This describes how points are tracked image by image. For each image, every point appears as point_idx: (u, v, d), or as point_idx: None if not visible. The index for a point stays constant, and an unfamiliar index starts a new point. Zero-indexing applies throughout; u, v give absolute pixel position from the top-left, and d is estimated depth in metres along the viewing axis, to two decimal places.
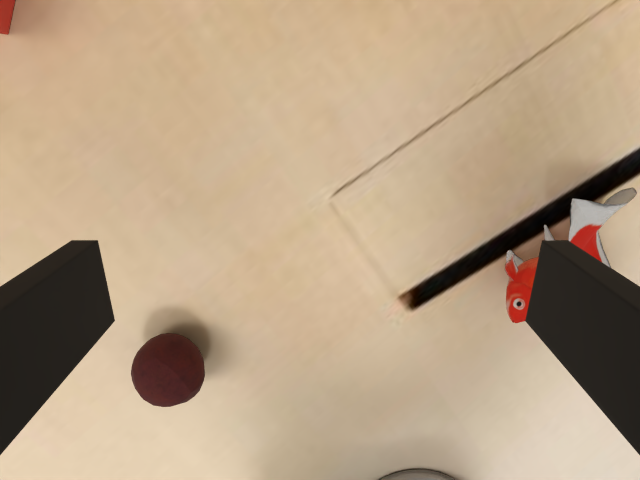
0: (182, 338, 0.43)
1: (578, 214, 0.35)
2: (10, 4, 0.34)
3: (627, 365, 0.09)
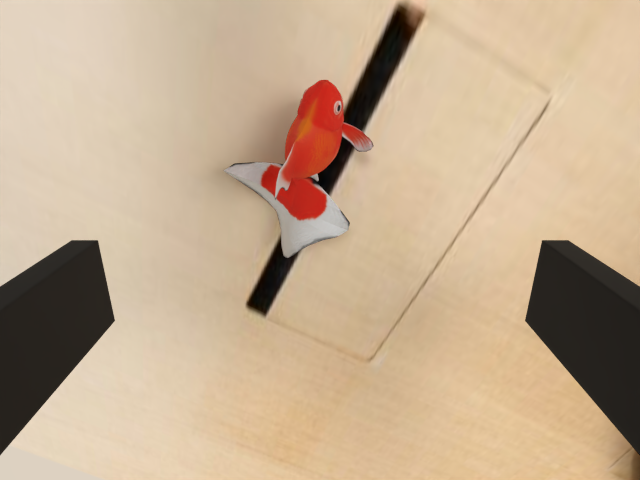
0: None
1: (337, 222, 0.34)
2: None
3: (627, 365, 0.09)
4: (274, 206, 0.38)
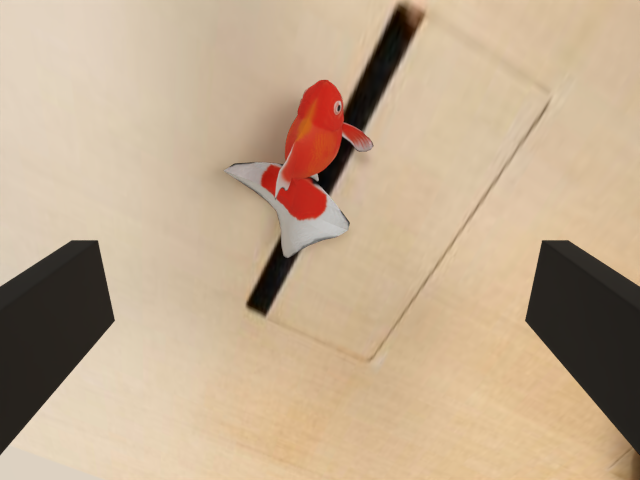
0: None
1: (337, 222, 0.34)
2: None
3: (627, 365, 0.09)
4: (274, 206, 0.38)
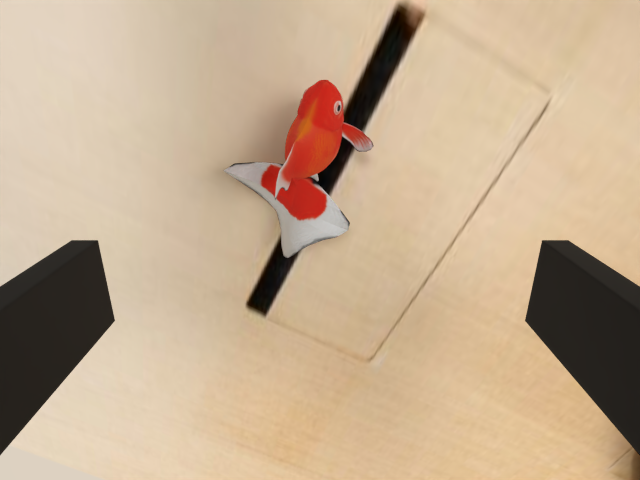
0: None
1: (337, 222, 0.34)
2: None
3: (627, 365, 0.09)
4: (274, 206, 0.38)
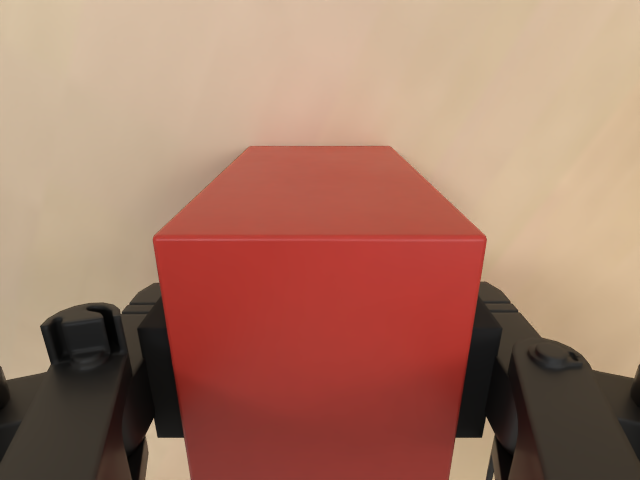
0: None
1: None
2: None
3: None
4: None
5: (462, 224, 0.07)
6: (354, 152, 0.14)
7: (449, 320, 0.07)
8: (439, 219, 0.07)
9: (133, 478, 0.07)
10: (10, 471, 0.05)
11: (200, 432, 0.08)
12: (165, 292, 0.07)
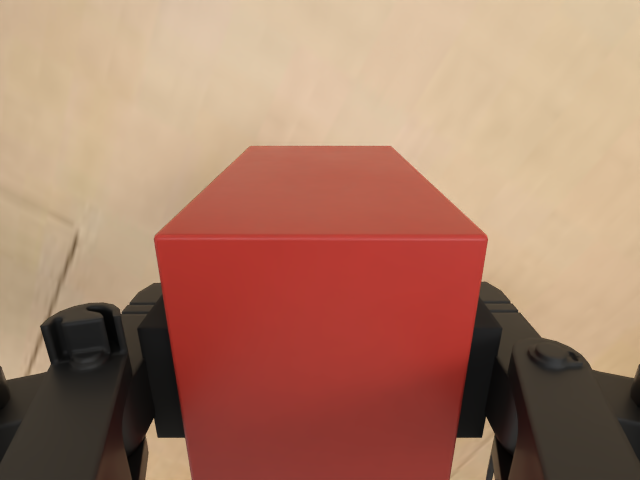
0: None
1: None
2: None
3: None
4: None
5: (463, 223, 0.07)
6: (355, 152, 0.14)
7: (450, 320, 0.07)
8: (440, 219, 0.07)
9: (133, 478, 0.07)
10: (10, 471, 0.05)
11: (201, 432, 0.08)
12: (166, 291, 0.07)
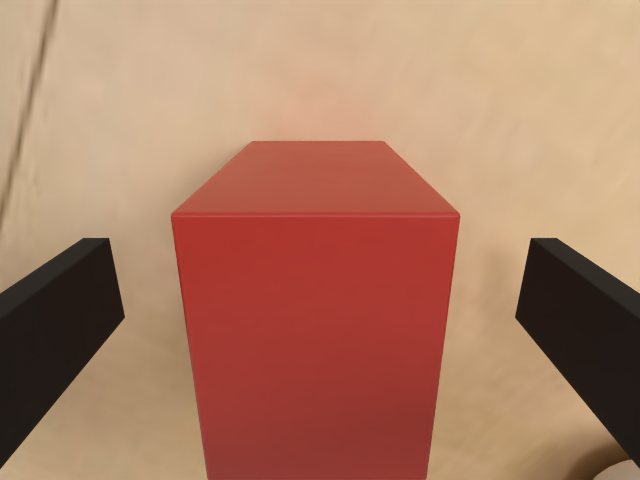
0: None
1: None
2: None
3: (610, 359, 0.09)
4: None
5: (439, 204, 0.08)
6: (350, 146, 0.15)
7: (429, 288, 0.08)
8: (420, 200, 0.08)
9: None
10: None
11: (210, 391, 0.09)
12: (181, 263, 0.08)
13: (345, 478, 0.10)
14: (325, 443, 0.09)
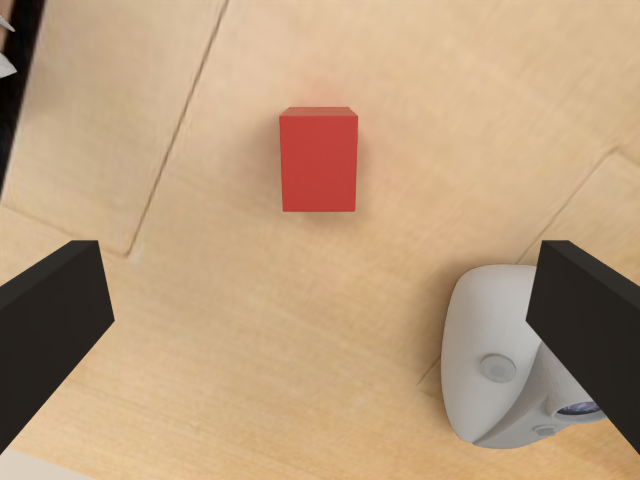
0: None
1: None
2: None
3: (627, 365, 0.09)
4: None
5: (353, 114, 0.28)
6: (332, 108, 0.35)
7: (350, 138, 0.28)
8: (348, 114, 0.29)
9: None
10: None
11: (286, 174, 0.29)
12: (281, 130, 0.28)
13: (328, 210, 0.30)
14: (321, 195, 0.30)
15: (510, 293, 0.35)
